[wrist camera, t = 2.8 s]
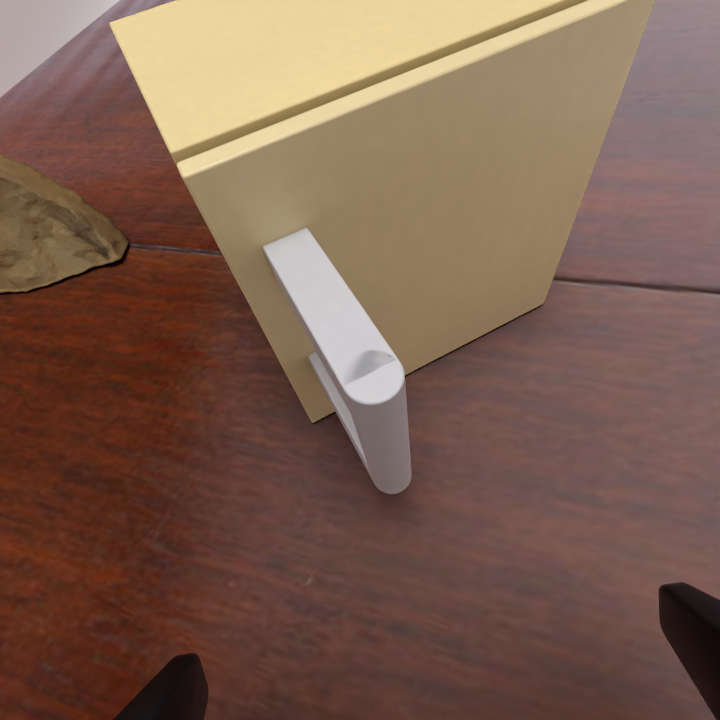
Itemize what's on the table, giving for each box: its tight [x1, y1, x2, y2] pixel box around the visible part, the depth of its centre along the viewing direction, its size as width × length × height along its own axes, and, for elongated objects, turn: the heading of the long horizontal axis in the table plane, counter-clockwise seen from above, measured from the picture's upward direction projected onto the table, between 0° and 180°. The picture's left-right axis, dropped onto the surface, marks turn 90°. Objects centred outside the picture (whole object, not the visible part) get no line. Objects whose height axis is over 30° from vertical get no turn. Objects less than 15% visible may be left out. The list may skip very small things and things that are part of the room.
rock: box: [0, 154, 128, 293], centre depth 31 cm, size 11×9×10 cm
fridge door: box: [177, 0, 655, 494], centre depth 17 cm, size 8×16×16 cm, turn 117°
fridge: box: [109, 0, 588, 165], centre depth 22 cm, size 11×16×16 cm
